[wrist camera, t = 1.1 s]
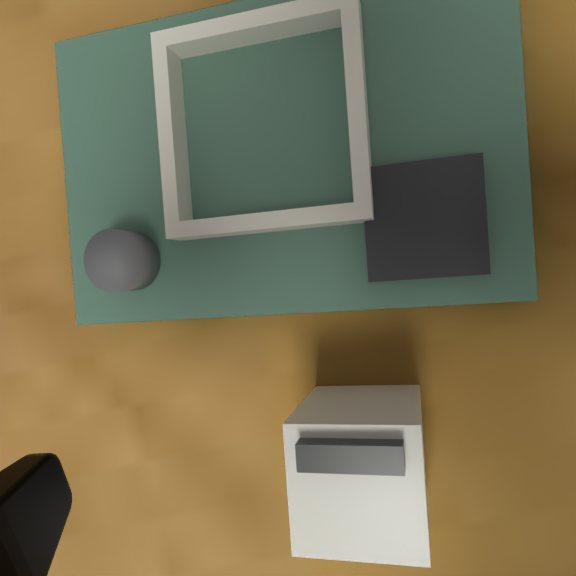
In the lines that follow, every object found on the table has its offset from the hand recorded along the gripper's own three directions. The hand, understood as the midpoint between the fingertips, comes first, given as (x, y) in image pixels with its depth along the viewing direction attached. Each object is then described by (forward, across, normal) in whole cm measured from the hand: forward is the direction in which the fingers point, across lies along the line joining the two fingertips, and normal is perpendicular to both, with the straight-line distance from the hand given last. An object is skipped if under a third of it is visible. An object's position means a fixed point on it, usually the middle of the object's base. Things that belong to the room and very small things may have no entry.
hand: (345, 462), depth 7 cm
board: (+14, +2, -3) cm, 14 cm away
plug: (+10, -1, +8) cm, 12 cm away
